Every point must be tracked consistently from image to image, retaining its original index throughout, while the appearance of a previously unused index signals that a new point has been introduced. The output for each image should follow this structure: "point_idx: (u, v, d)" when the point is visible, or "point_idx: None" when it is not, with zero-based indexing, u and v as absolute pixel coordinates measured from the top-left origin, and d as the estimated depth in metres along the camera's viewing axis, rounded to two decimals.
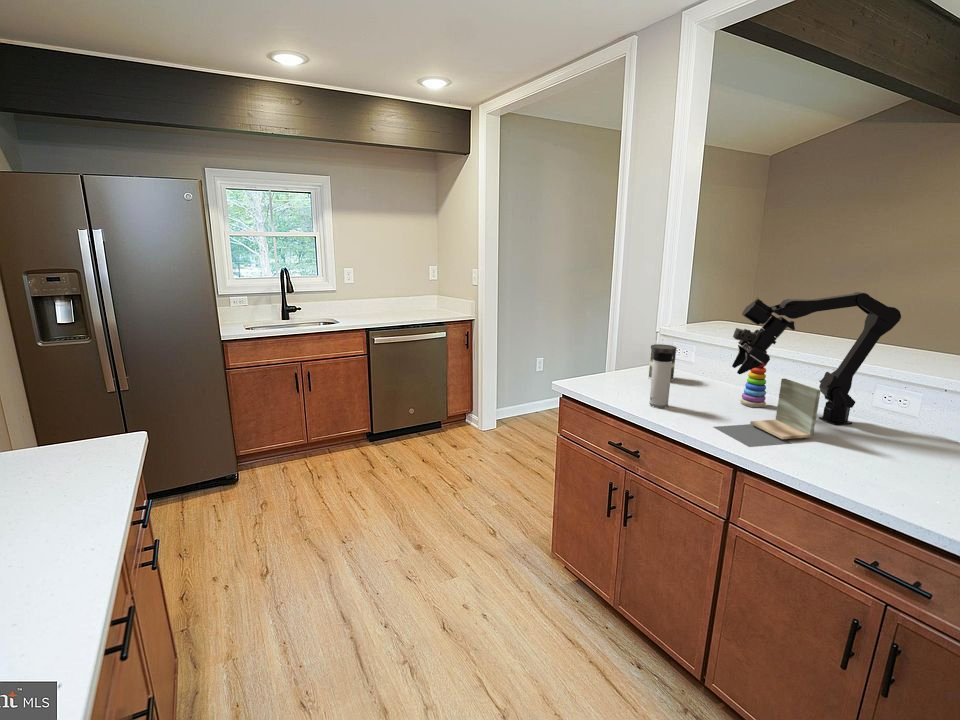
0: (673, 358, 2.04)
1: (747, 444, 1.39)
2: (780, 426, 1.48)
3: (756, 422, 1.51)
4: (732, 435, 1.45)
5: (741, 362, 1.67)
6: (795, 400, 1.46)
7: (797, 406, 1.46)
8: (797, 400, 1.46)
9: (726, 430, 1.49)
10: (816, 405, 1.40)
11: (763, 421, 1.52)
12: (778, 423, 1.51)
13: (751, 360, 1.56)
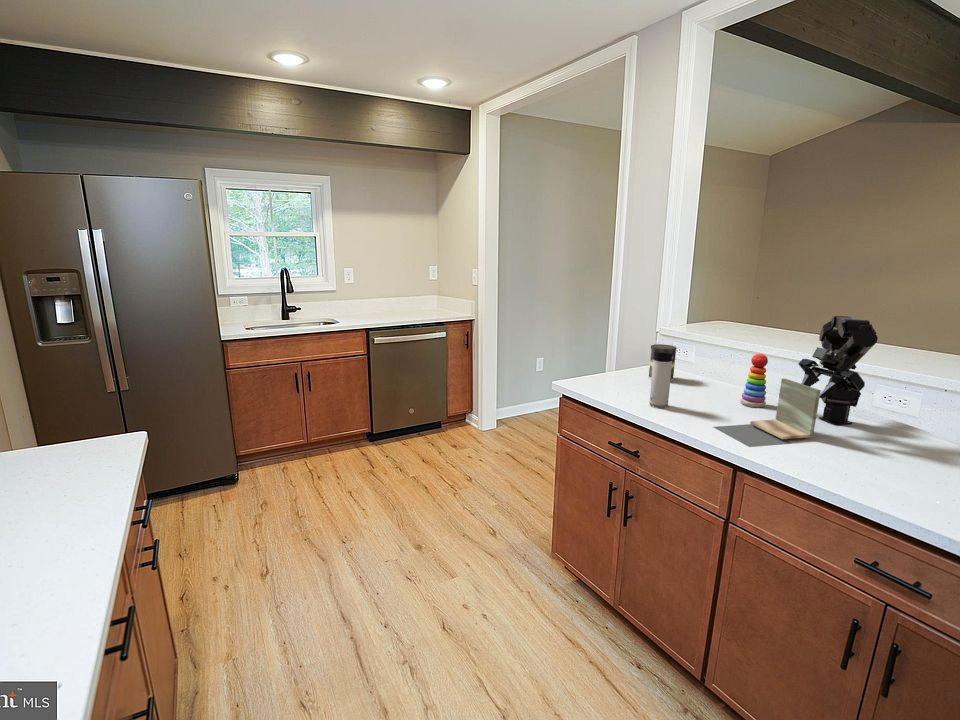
0: (673, 358, 2.04)
1: (747, 444, 1.39)
2: (780, 426, 1.48)
3: (756, 422, 1.51)
4: (732, 435, 1.45)
5: None
6: (795, 400, 1.46)
7: (797, 406, 1.46)
8: (797, 400, 1.46)
9: (726, 430, 1.49)
10: (816, 405, 1.40)
11: (763, 421, 1.52)
12: (778, 423, 1.51)
13: (837, 384, 1.42)
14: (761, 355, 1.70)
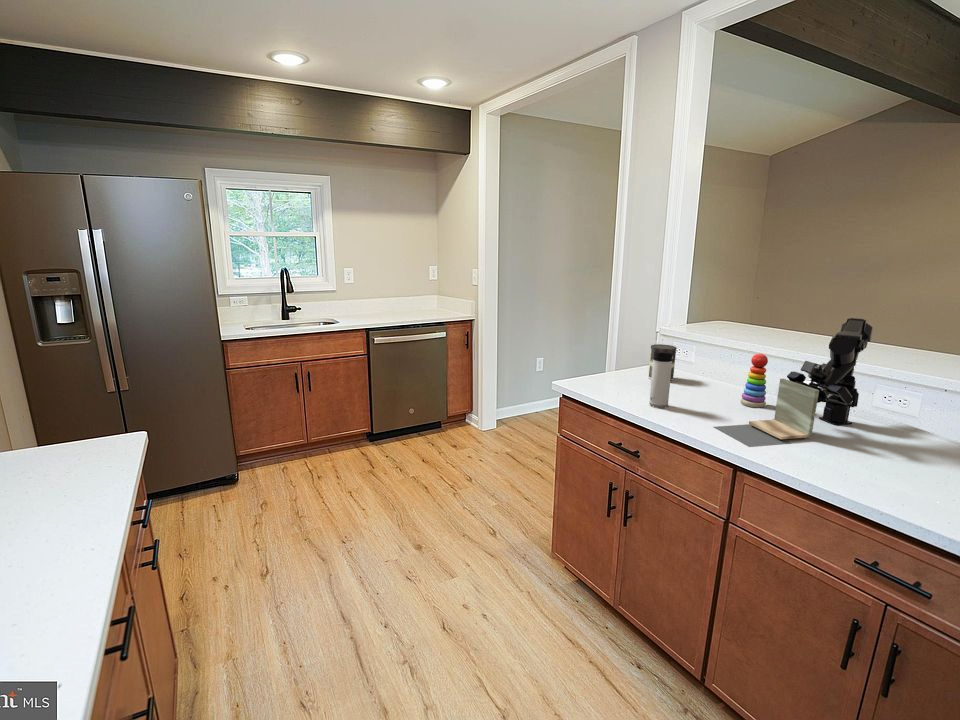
0: (673, 358, 2.04)
1: (747, 444, 1.39)
2: (779, 426, 1.48)
3: (755, 422, 1.51)
4: (732, 435, 1.45)
5: None
6: (794, 401, 1.46)
7: (795, 406, 1.46)
8: (795, 400, 1.46)
9: (726, 430, 1.49)
10: (814, 405, 1.40)
11: (762, 421, 1.52)
12: (777, 423, 1.51)
13: None
14: (761, 355, 1.70)
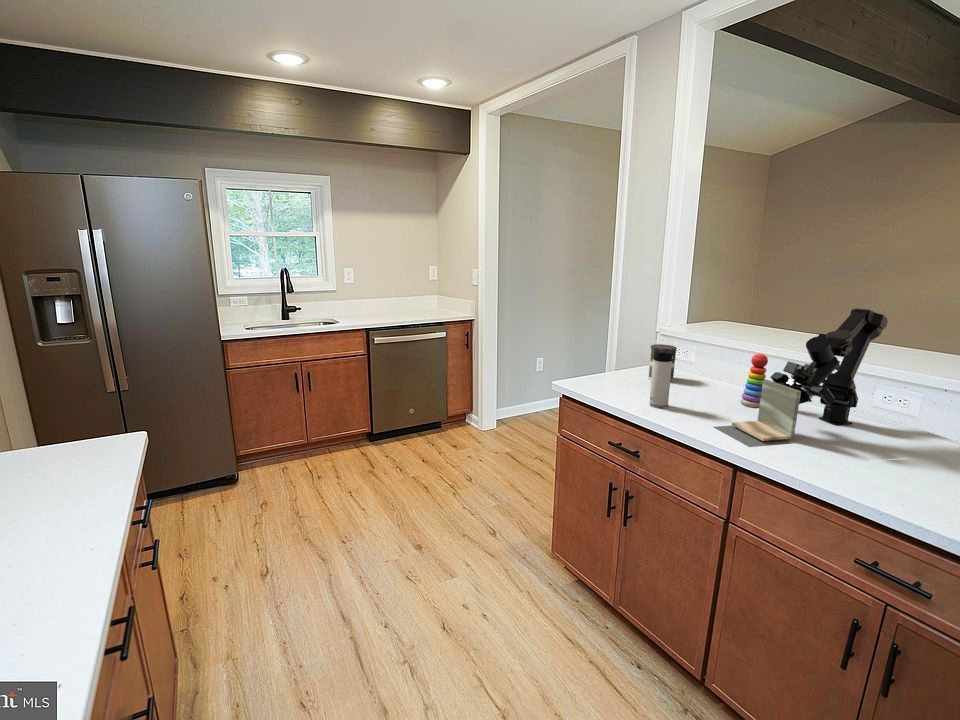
0: (673, 358, 2.04)
1: (747, 444, 1.39)
2: (761, 428, 1.47)
3: (737, 423, 1.50)
4: (732, 435, 1.45)
5: None
6: (777, 402, 1.45)
7: (778, 407, 1.45)
8: (778, 401, 1.44)
9: (726, 430, 1.49)
10: (796, 406, 1.39)
11: (745, 422, 1.51)
12: (760, 424, 1.50)
13: None
14: (761, 355, 1.70)
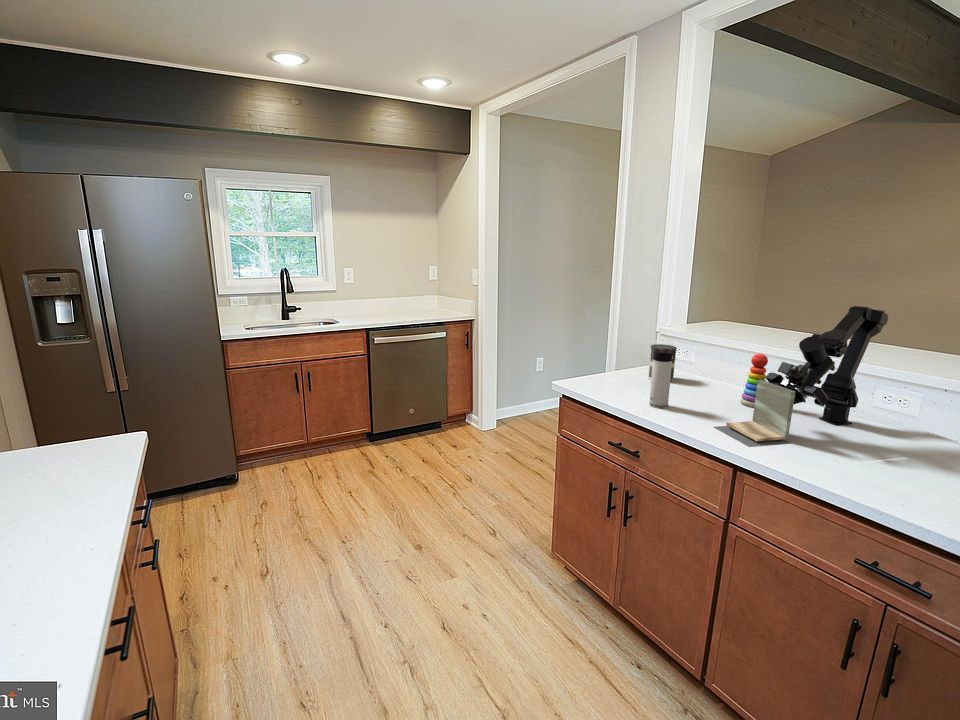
0: (673, 358, 2.04)
1: (747, 444, 1.39)
2: (756, 428, 1.46)
3: (732, 424, 1.50)
4: (732, 435, 1.45)
5: None
6: (771, 402, 1.45)
7: (773, 408, 1.44)
8: (773, 402, 1.44)
9: (726, 430, 1.49)
10: (791, 407, 1.38)
11: (739, 423, 1.51)
12: (754, 425, 1.49)
13: None
14: (761, 355, 1.70)
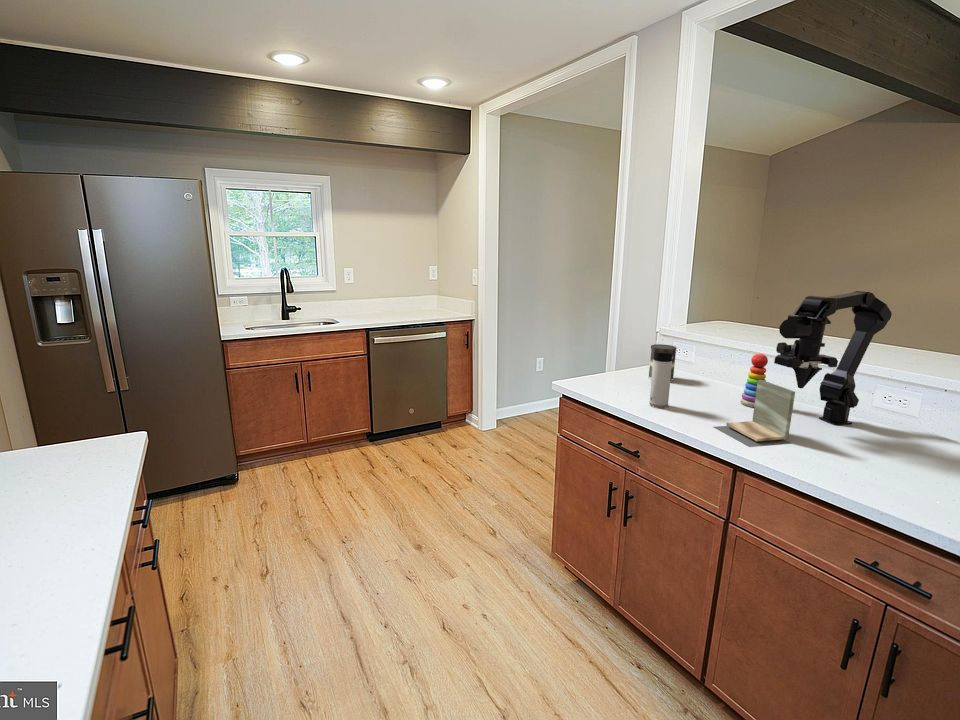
0: (673, 358, 2.04)
1: (747, 444, 1.39)
2: (756, 428, 1.46)
3: (732, 424, 1.50)
4: (732, 435, 1.45)
5: None
6: (771, 402, 1.45)
7: (773, 408, 1.44)
8: (773, 402, 1.44)
9: (726, 430, 1.49)
10: (791, 407, 1.38)
11: (739, 423, 1.51)
12: (754, 425, 1.49)
13: (800, 369, 1.48)
14: (761, 355, 1.70)
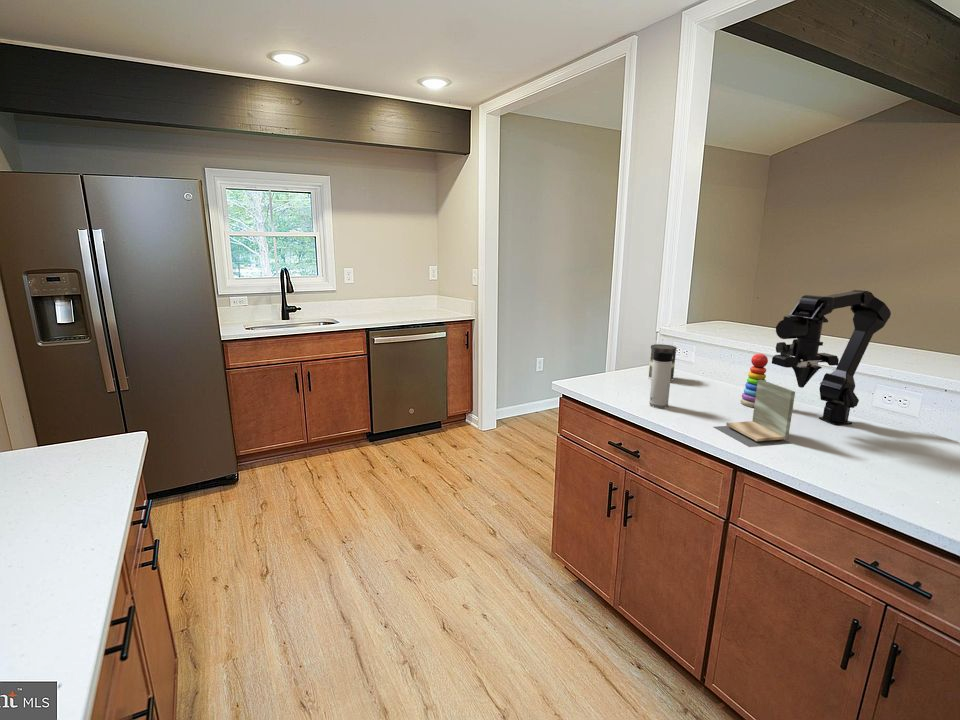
0: (673, 358, 2.04)
1: (747, 444, 1.39)
2: (756, 428, 1.46)
3: (732, 424, 1.50)
4: (732, 435, 1.45)
5: None
6: (771, 402, 1.45)
7: (773, 408, 1.44)
8: (773, 402, 1.44)
9: (726, 430, 1.49)
10: (791, 407, 1.38)
11: (739, 423, 1.51)
12: (754, 425, 1.49)
13: (799, 369, 1.49)
14: (761, 355, 1.70)
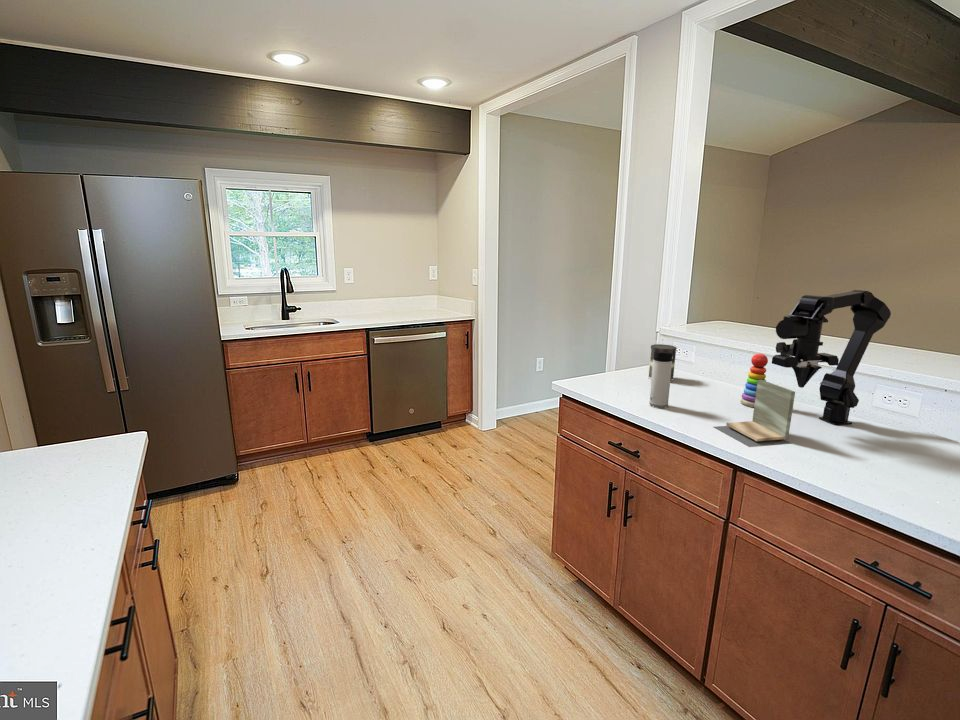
0: (673, 358, 2.04)
1: (747, 444, 1.39)
2: (756, 428, 1.46)
3: (732, 424, 1.50)
4: (732, 435, 1.45)
5: None
6: (771, 402, 1.45)
7: (773, 408, 1.44)
8: (773, 402, 1.44)
9: (726, 430, 1.49)
10: (791, 407, 1.38)
11: (739, 423, 1.51)
12: (754, 425, 1.49)
13: (799, 369, 1.49)
14: (761, 355, 1.70)
